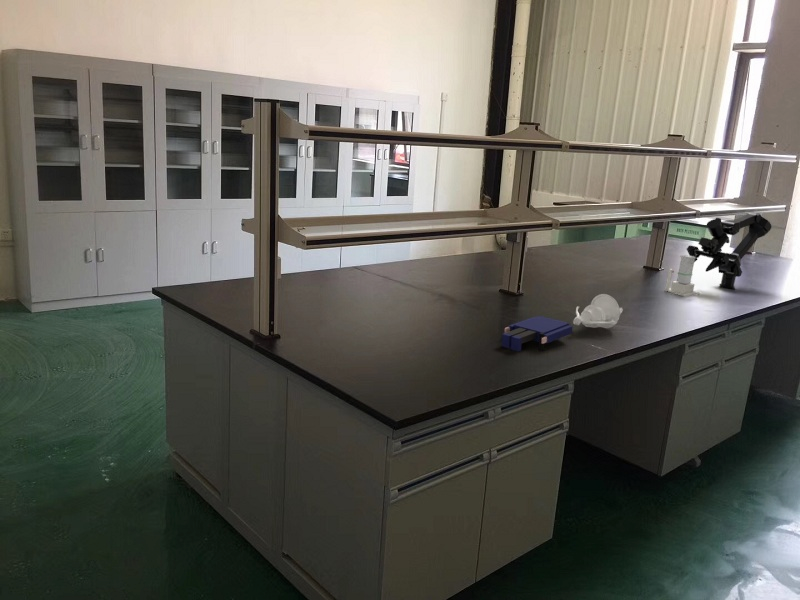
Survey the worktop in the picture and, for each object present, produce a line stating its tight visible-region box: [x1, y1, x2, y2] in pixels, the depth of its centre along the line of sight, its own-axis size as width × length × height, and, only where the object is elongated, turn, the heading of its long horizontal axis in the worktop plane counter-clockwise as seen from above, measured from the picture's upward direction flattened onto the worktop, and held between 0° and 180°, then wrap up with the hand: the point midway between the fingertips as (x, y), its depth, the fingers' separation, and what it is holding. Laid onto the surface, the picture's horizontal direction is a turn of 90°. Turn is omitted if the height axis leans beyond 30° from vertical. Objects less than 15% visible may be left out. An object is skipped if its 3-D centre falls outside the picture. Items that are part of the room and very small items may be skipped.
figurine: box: [572, 293, 624, 329], centre depth 229 cm, size 17×12×25 cm
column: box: [676, 254, 696, 285], centre depth 292 cm, size 4×4×13 cm
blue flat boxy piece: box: [501, 315, 573, 352], centre depth 213 cm, size 15×6×25 cm
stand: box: [663, 268, 700, 297], centre depth 293 cm, size 10×11×10 cm
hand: (696, 268), depth 296 cm, fingers open, 9 cm apart
